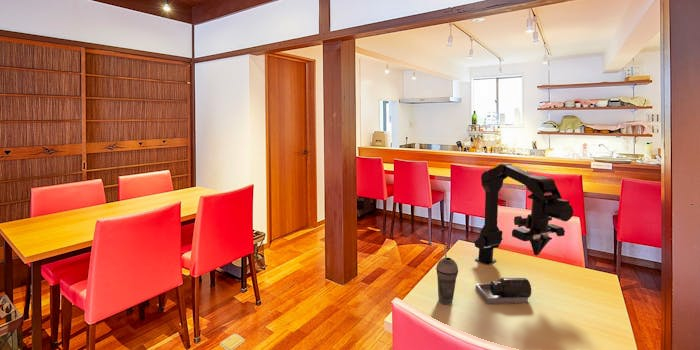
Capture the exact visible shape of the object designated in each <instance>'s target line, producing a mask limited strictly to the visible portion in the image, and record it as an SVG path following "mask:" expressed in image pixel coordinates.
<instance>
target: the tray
mask: <svg viewBox="0 0 700 350" xmlns="http://www.w3.org/2000/svg"><path fill="white" fill-rule="evenodd" d="M475 290H476V291H477V293H479V296H481V297H482V298H483V300H484V301H485V302H486V303H487V304H488V305H509V304H511V305H512V304H528V301H529V298H528V297H508V298H502V297H501V296H500V295H499V296H494V295H492V293H491V290H490V283H476V284H475Z"/></svg>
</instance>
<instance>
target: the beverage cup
mask: <svg viewBox="0 0 700 350" xmlns="http://www.w3.org/2000/svg"><path fill="white" fill-rule="evenodd" d="M443 248H444V257H443V258H441V259H440V260H439V261H438V262H437V265H436V267H435V270H436V276H437V296H438V302H439V303H440V304H441V305H446V306H448V305H452V304H453V300H454V295H455V290H456V289H455V288H456V281H457V277H458V274H459V267H458V264H457V262H456V261H455V260H454V259H453V258H451V257H447V247H446V244H444V245H443Z"/></svg>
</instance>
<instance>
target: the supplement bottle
mask: <svg viewBox="0 0 700 350" xmlns="http://www.w3.org/2000/svg"><path fill="white" fill-rule="evenodd" d="M489 284H490V290H491V293H492V295H494V296H499V295H500V296H501V297H502V298H508V297H528V299H529V298H530V297H531V296H532V286H531V282H530V281H529V279H527V278H526V277H501V278H499V279H498V280H492V281H490V283H489Z"/></svg>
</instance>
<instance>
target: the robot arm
mask: <svg viewBox="0 0 700 350" xmlns="http://www.w3.org/2000/svg"><path fill="white" fill-rule="evenodd" d="M507 178H510V179H512V180H514V181H516V182H518V183H519V184H521V185H524V186H525V187H526V189H527V190H528V191H529V192H530V193H531V194H529V195H528V196H527V199H530V200H532V202H531V209H530V210H531V212H530V213H529V214H528V215H527V217H522V216H521V215H518V216H516V215H515V216H514V217H513V223H514V226H517V228H514V229H512V231H511V237H512V238H515V239H518V240H520V241H522V242H529V243H530V245H531V248H532V252H533V255H534V256H539V255H540V253H541V252H542V251H543V249H544V248H545V247H546V246H547V244H548V243H549V242H550V241H551V240H553V238H552V237H551V236H550V235H549V234H553V233H554V234H555V235H556V236H557V237H563V236H565V232H566V231H565V229H564V227H562V226H559V225H557V224H554V223H550V222H549V221H552V220H553V219H556V220H559V221H561V222H568V221H570V220H571V219H572V217H573V215H574V209H573V205H571V204H570V203H571V202H570V200H567V199H562V197H563V196H562V195H561V193H560V191H559V189H558V186H557V185H556V183H555V182H556V181H555V179H554V178H552V177H547V176H543V175H535V174H532V173H530V172H528V171H526V170H523V169H521V168H519V167H517V166H515V165H513V164H512V163H508V162H507V163H500V164H498V165H497V166H495V167H492V168H491V169H488V170H485V171H484V172H483V173H482V174H481V175H480V181H481V186H482V188H483V190H484V191H485V193H484V194H485V196H484V200H485V201H484V225H483V226H482V228H481V230H480V234H479V237H478V238H477V239H476V240H475V241H474V247H475V248H478V256H477V257H476V258H475V259H474V260H475V261H477V262H479V263H482V264H485V265H491V264H493V263H495V262H497V259H495V258H494V249H498V248H499V246H500V244H501V243H502V241H503V230H500V228H499V226H498V215H499V213H498V212H499V211H498V208H499V192H500V190H501V188H502V187H503V185H504V180H505V179H507ZM549 223H550V224H549ZM523 227H524V228H523Z"/></svg>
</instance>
